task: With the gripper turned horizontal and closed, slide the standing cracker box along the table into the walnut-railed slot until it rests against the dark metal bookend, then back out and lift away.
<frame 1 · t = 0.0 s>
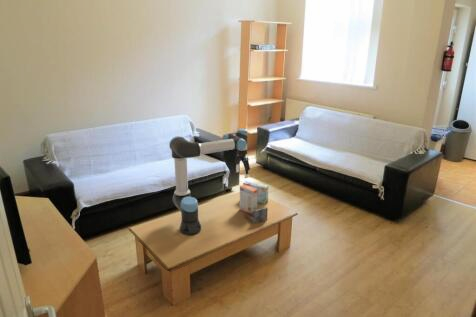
hand: (241, 174, 271), 28 cm above the table, tool pointing down, fingers open, 13 cm apart
cracker box: (248, 211, 273), on the table
snack box: (255, 200, 292), on the table
bookend slot: (255, 217, 264), on the table
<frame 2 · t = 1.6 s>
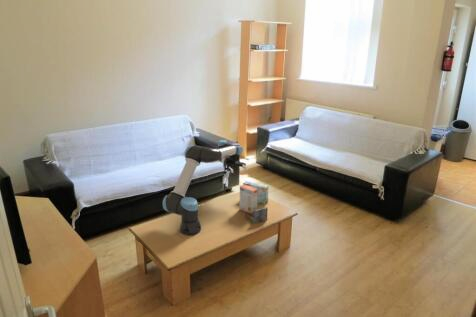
hand: (240, 170, 275), 30 cm above the table, tool horizontal, fingers open, 12 cm apart
nothing on the table moved.
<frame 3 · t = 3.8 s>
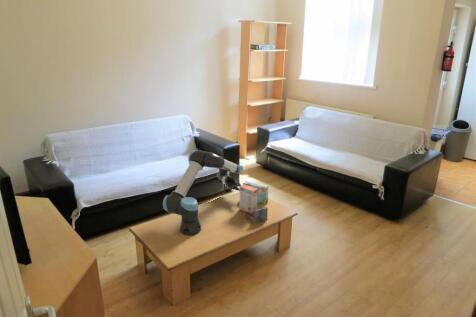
hand: (241, 190, 279), 13 cm above the table, tool horizontal, fingers closed
nothing on the table moved.
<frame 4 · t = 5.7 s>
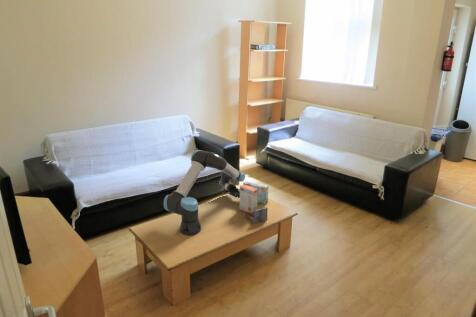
hand: (244, 198, 277), 8 cm above the table, tool horizontal, fingers closed
cracker box: (248, 211, 273), on the table, touching gripper
everything else where it was.
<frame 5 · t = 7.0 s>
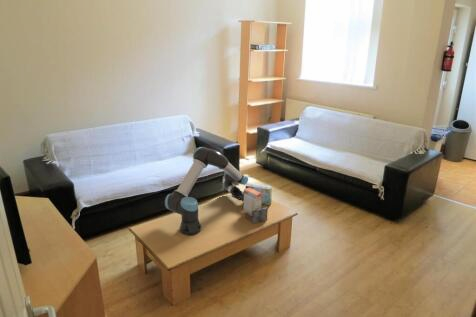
hand: (248, 201, 271), 8 cm above the table, tool horizontal, fingers closed
cracker box: (252, 215, 267), on the table, touching gripper
snack box: (258, 201, 289), on the table, touching arm
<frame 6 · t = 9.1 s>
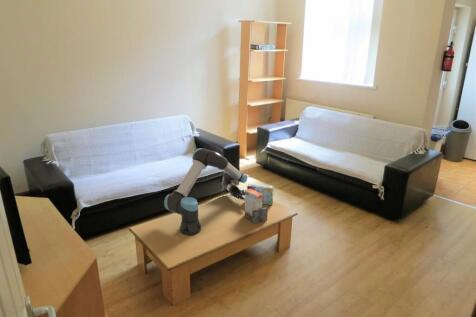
hand: (246, 200, 273), 8 cm above the table, tool horizontal, fingers closed
cracker box: (253, 217, 265), on the table
snack box: (259, 202, 288), on the table
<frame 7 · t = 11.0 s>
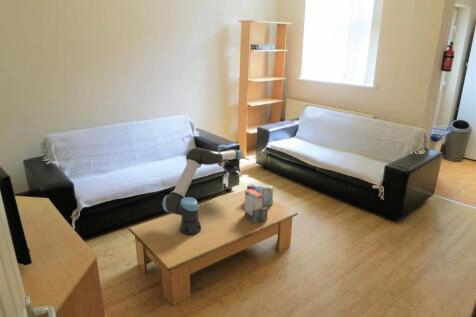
hand: (240, 175, 276), 26 cm above the table, tool horizontal, fingers closed
nothing on the table moved.
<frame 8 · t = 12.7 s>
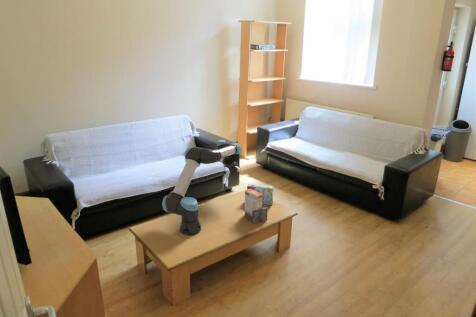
hand: (239, 170, 275), 30 cm above the table, tool horizontal, fingers closed
nothing on the table moved.
at the end: cracker box inside the target area (1.0 cm from its centre), on the table; cracker box tilted 0°; cracker box moved 9.2 cm from its start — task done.
